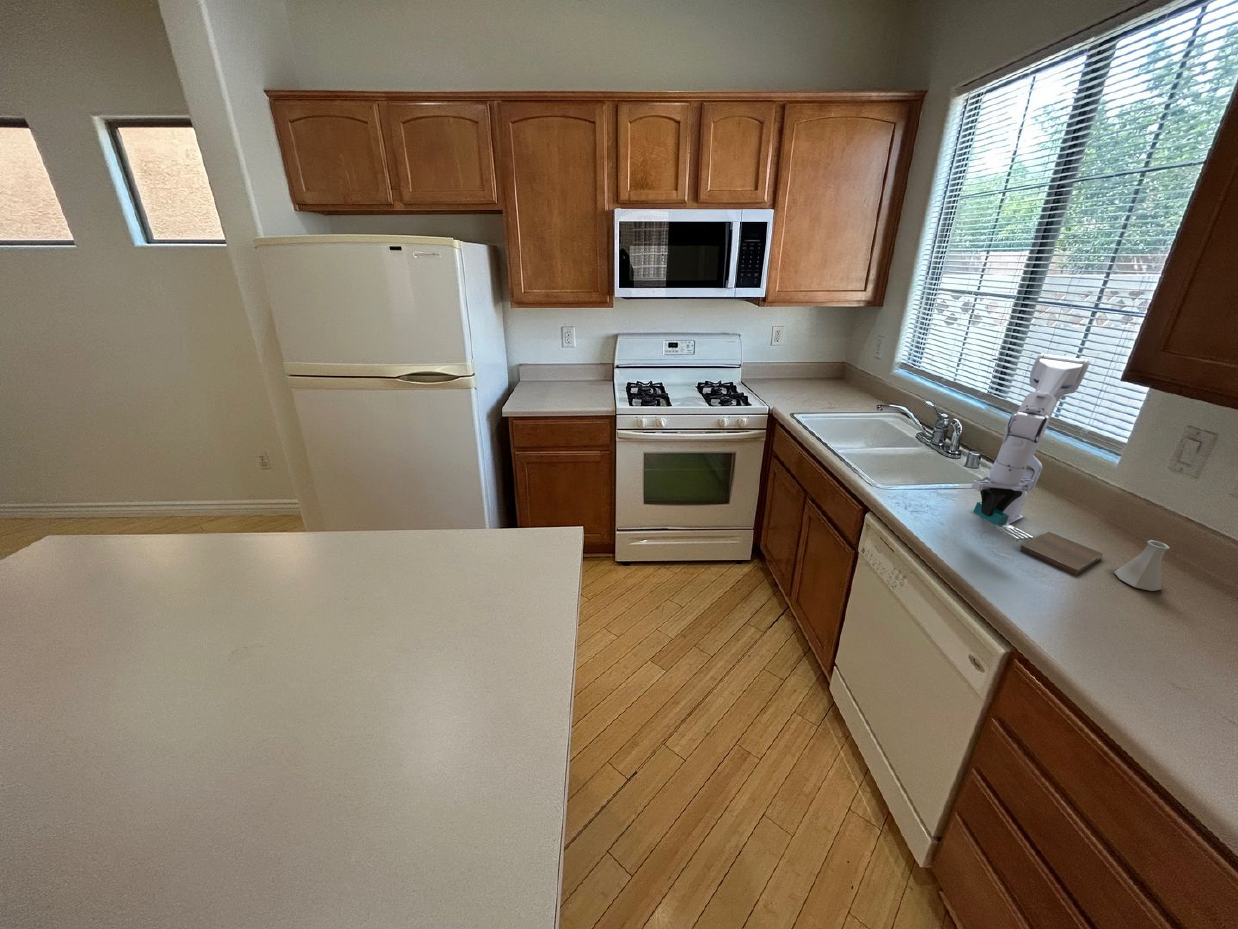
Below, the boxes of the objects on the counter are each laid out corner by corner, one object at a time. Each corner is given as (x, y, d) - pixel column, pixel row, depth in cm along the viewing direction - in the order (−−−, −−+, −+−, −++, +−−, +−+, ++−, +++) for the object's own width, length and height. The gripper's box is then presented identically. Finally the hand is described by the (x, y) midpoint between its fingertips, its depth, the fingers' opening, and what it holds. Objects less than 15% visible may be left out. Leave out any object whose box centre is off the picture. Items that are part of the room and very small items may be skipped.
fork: (969, 512, 119) (973, 502, 117) (983, 511, 119) (987, 501, 118) (1016, 541, 107) (1021, 530, 106) (1032, 540, 108) (1037, 529, 106)
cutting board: (1046, 536, 123) (1048, 531, 122) (1100, 558, 114) (1103, 553, 113) (1019, 550, 116) (1021, 545, 116) (1075, 575, 108) (1078, 570, 107)
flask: (1139, 572, 109) (1161, 536, 105) (1169, 593, 103) (1193, 555, 99) (1105, 570, 110) (1126, 533, 106) (1133, 590, 103) (1156, 552, 99)
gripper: (999, 472, 105) (978, 524, 111) (1054, 469, 107) (1030, 521, 113) (972, 459, 111) (954, 509, 117) (1025, 457, 114) (1004, 506, 119)
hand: (990, 514), depth 115 cm, fingers closed on fork, 2 cm apart
